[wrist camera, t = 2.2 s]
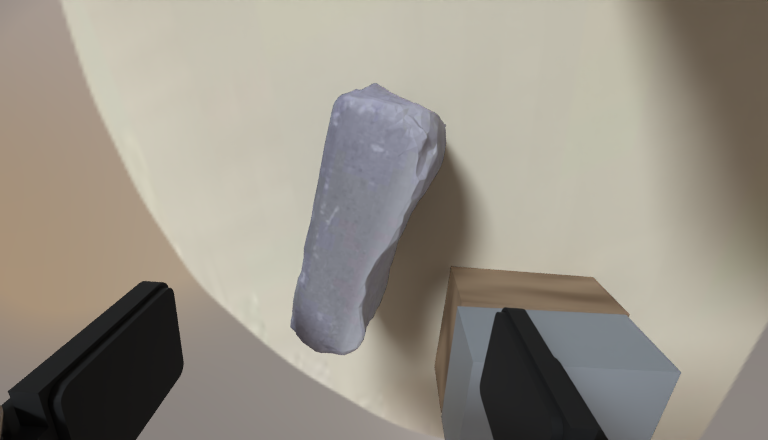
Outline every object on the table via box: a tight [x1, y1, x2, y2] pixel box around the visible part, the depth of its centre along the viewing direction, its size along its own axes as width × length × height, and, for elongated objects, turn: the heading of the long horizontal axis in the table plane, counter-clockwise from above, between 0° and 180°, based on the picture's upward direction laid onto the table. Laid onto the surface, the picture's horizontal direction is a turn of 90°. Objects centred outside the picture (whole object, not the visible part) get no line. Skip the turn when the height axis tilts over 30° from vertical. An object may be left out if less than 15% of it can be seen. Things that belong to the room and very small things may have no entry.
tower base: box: [435, 266, 630, 413], centre depth 26 cm, size 9×10×4 cm
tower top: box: [441, 306, 681, 440], centre depth 21 cm, size 9×10×4 cm
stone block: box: [291, 83, 446, 355], centre depth 19 cm, size 12×5×10 cm, turn 163°
